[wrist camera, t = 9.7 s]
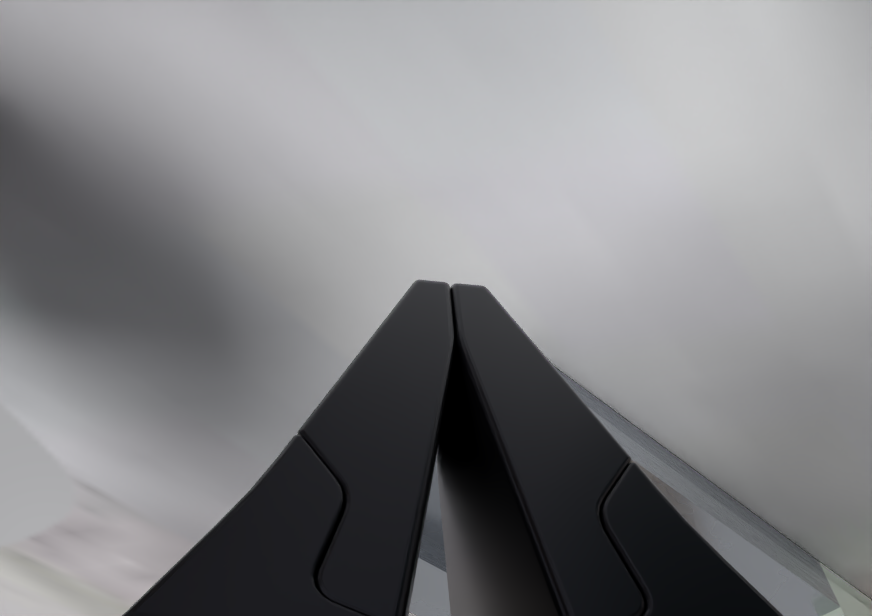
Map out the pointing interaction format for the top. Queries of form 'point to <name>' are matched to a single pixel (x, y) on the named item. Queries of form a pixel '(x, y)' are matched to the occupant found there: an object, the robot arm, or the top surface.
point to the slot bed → (696, 501)
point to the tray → (847, 597)
